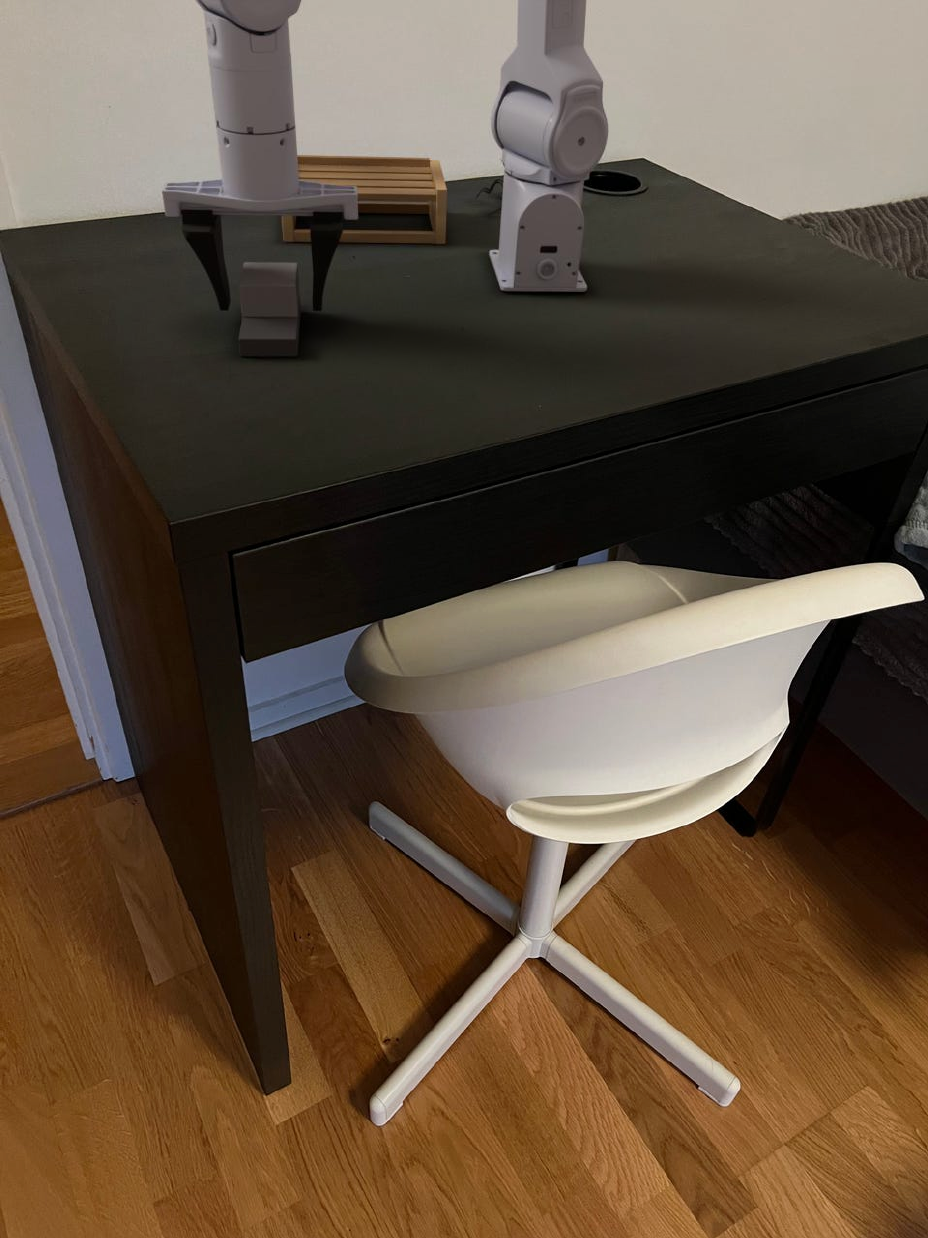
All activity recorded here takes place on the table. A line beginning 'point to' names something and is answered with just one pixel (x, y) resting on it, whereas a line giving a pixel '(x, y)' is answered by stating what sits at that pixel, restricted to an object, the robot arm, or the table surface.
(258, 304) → the grey step block
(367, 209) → the shoe rack
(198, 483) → the table surface
